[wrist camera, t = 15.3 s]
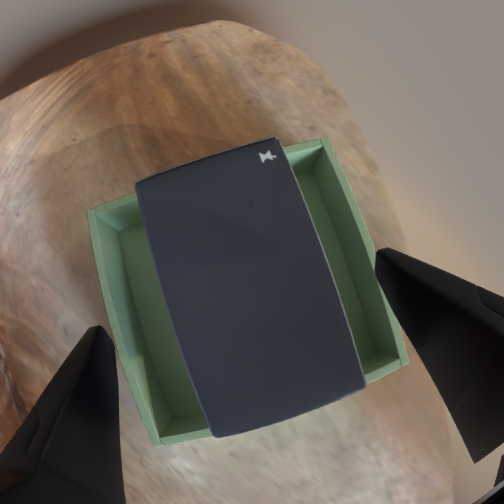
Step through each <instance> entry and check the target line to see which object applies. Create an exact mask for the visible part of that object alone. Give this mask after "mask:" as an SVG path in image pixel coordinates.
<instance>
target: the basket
mask: <svg viewBox="0 0 504 504" xmlns="http://www.w3.org/2000/svg"><path fill="white" fill-rule="evenodd" d="M283 149H284V151H285V153H286V156H287V158H288V160H289V163H290V165H291V167H292V170H293V172H294V174H295V177H296V179H297V182H298V184H299V186H300V189H301V191H302V194H303V197H304V199H305V202H306V204H307V207H308V209H309V212H310V214H311V217H312V220H313V223H314V226H315V228H316V231H317V233H318V235H319V238H320V241H321V244H322V246H323V249H324V252H325V254H326V257H327V260H328V263H329V265H330V268H331V271H332V274H333V277H334V280H335V283H336V286H337V289H338V292H339V295H340V298H341V301H342V304H343V307H344V310H345V313H346V317H347V320H348V323H349V326H350V329H351V332H352V335H353V338H354V342H355V345H356V348H357V352H358V355H359V358H360V362H361V365H362V369H363V372H364V376H365V379H366V383H369V382H371V381H374V380H376V379H378V378H380V377H382V376H384V375H386V374H388V373H390V372H392V371H394V370H396V369H398V368H400V367H402V366H404V365H406V364H408V363H409V360H408V356H407V352H406V348H405V344H404V340H403V337H402V333H401V330H400V326H399V322H398V320H397V318H396V316H395V315H394V313H393V311H392V309H391V307H390V305H389V303H388V301H387V299H386V297H385V295H384V293H383V290H382V288H381V286H380V284H379V282H378V280H377V278H376V276H375V272H374V269H375V256H376V251H375V248H374V246H373V243H372V240H371V238H370V235H369V232H368V230H367V227H366V224H365V222H364V219H363V217H362V214H361V212H360V209H359V207H358V204H357V202H356V200H355V197H354V195H353V192H352V190H351V188H350V185H349V183H348V181H347V178H346V176H345V174H344V172H343V169H342V167H341V165H340V163H339V160H338V158H337V156H336V154H335V152H334V150H333V148H332V145H331V143H330V141H329V139H328V137H325V138H321V139H316V140H312V141H307V142H303V143H299V144H294V145H290V146H286V147H283ZM87 217H88V224H89V230H90V236H91V242H92V247H93V253H94V258H95V263H96V268H97V273H98V277H99V282H100V286H101V291H102V295H103V299H104V303H105V307H106V311H107V315H108V319H109V322H110V326H111V330H112V333H113V337H114V340H115V343H116V347H117V350H118V353H119V356H120V359H121V363H122V366H123V369H124V372H125V375H126V378H127V380H128V383H129V386H130V389H131V392H132V394H133V397H134V400H135V402H136V405H137V408H138V410H139V413H140V415H141V418H142V420H143V423H144V425H145V427H146V430H147V432H148V434H149V437H150V439H151V441H152V444H153V446H154V447H159V446H165V445H171V444H177V443H182V442H187V441H192V440H197V439H201V438H206V437H210V436H212V434H211V431H210V429H209V426H208V424H207V422H206V419H205V417H204V414H203V412H202V409H201V406H200V404H199V401H198V398H197V396H196V393H195V390H194V388H193V385H192V382H191V380H190V377H189V374H188V371H187V368H186V366H185V363H184V360H183V357H182V354H181V351H180V348H179V345H178V342H177V339H176V336H175V333H174V330H173V327H172V324H171V321H170V318H169V314H168V311H167V308H166V305H165V301H164V298H163V295H162V291H161V288H160V284H159V281H158V277H157V274H156V270H155V267H154V263H153V259H152V256H151V252H150V248H149V244H148V240H147V236H146V232H145V228H144V224H143V220H142V216H141V212H140V208H139V202H138V198H137V194H136V192H134V193H131V194H128V195H126V196H123V197H120V198H118V199H115V200H112V201H110V202H107V203H105V204H102V205H100V206H97V207H95V208H92V209H90V210H87Z"/></svg>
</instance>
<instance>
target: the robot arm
mask: <svg viewBox="0 0 504 504" xmlns="http://www.w3.org/2000/svg"><path fill="white" fill-rule="evenodd" d="M374 272H375V276H376V278H377V280H378V282H379V284H380V286H381V288H382V290H383V293H384V295H385V297H386V299H387V301H388V303H389V305H390V307H391V309H392V311H393V313H394V315H395V316H396V318H397V320H398V321H399V323H400V325H401V326H402V328H403V330H404V331H405V333H406V335H407V336H408V338H409V340H410V341H411V343H412V345H413V346H414V348H415V350H416V352H417V353H418V355H419V357H420V358H421V360H422V362H423V364H424V365H425V367H426V369H427V371H428V373H429V374H430V376H431V378H432V380H433V382H434V384H435V385H436V387H437V389H438V391H439V393H440V395H441V397H442V398H443V400H444V402H445V404H446V406H447V408H448V410H449V412H450V413H451V416H452V418H453V420H454V422H455V424H456V426H457V428H458V430H459V432H460V435H461V437H462V438H463V441H464V443H465V445H466V447H467V449H468V451H469V454H470V456H471V458H472V460H473V462H474V463H476V462H478V461H480V460H481V459H482V458H484V457H485V456H487V455H488V454H489V453H491V452H492V451H493V450H495V449H496V448H497V447H499V446H500V445H501V444H502V443H504V297H502V296H500V295H497V294H495V293H493V292H491V291H488V290H486V289H484V288H482V287H479V286H476V285H475V284H473V283H471V282H468V281H466V280H464V279H461V278H460V277H457V276H455V275H453V274H451V273H448V272H446V271H444V270H441V269H439V268H437V267H434V266H432V265H429V264H427V263H425V262H423V261H420V260H418V259H416V258H413V257H411V256H408V255H406V254H403V253H401V252H399V251H396V250H394V249H391V248H388V247H387V248H383V249H380V250H378V251H377V252H376V256H375V269H374ZM125 503H126V499H125V491H124V482H123V472H122V461H121V447H120V428H119V389H118V378H117V367H116V356H115V346H114V343H113V341H112V339H111V338H110V337H109V335H108V334H107V332H106V331H105V329H104V328H103V327H102V326H100V325H97V326H93V327H90V328H89V329H88V330H87V331H86V333H85V334H84V335H83V337H82V338H81V339H80V341H79V342H78V343H77V345H76V346H75V347H74V349H73V350H72V351H71V353H70V354H69V356H68V357H67V358H66V360H65V361H64V363H63V364H62V365H61V367H60V368H59V370H58V371H57V373H56V374H55V375H54V377H53V378H52V380H51V381H50V383H49V384H48V386H47V387H46V389H45V390H44V392H43V393H42V395H41V396H40V398H39V399H38V401H37V402H36V404H35V406H34V407H33V408H32V410H31V411H30V413H29V414H28V416H27V417H26V419H25V420H24V422H23V424H22V425H21V426H20V428H19V429H18V431H17V432H16V433H15V435H14V436H13V438H12V439H11V440H10V442H9V443H8V445H7V446H6V447H5V449H4V450H3V452H2V453H1V454H0V504H125ZM473 504H504V454H503V455H502V457H501V461H500V465H499V469H498V473H497V477H496V480H495V484H494V488H493V489H492V490H491V491H489V492H488V493H487V494H485V495H484V496H482V497H481V498H480V499H478V500H477V501H476V502H474V503H473Z"/></svg>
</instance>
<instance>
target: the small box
mask: <svg viewBox="0 0 504 504" xmlns="http://www.w3.org/2000/svg"><path fill="white" fill-rule="evenodd" d="M135 190H136V194H137V198H138V202H139V208H140V212H141V216H142V220H143V224H144V228H145V232H146V236H147V240H148V244H149V248H150V252H151V256H152V259H153V263H154V267H155V270H156V274H157V277H158V281H159V284H160V288H161V291H162V295H163V298H164V301H165V305H166V308H167V311H168V314H169V318H170V321H171V324H172V327H173V330H174V333H175V336H176V339H177V342H178V345H179V348H180V351H181V354H182V357H183V360H184V363H185V366H186V368H187V371H188V374H189V377H190V380H191V382H192V385H193V388H194V390H195V393H196V396H197V398H198V401H199V404H200V406H201V409H202V412H203V414H204V417H205V419H206V422H207V424H208V426H209V429H210V431H211V434H212V436H213V437H214V438H222V437H227V436H232V435H237V434H241V433H245V432H248V431H252V430H255V429H258V428H261V427H265V426H268V425H271V424H275V423H278V422H281V421H285V420H287V419H290V418H293V417H296V416H298V415H301V414H304V413H307V412H309V411H312V410H315V409H318V408H320V407H323V406H325V405H328V404H330V403H333V402H335V401H338V400H340V399H342V398H344V397H347V396H349V395H352V394H354V393H356V392H358V391H360V390H362V389H364V388H366V386H367V383H366V379H365V376H364V372H363V369H362V365H361V362H360V358H359V355H358V352H357V348H356V345H355V342H354V338H353V335H352V332H351V329H350V326H349V323H348V320H347V317H346V313H345V310H344V307H343V304H342V301H341V298H340V295H339V292H338V289H337V286H336V283H335V280H334V277H333V274H332V271H331V268H330V265H329V263H328V260H327V257H326V254H325V252H324V249H323V246H322V244H321V241H320V238H319V235H318V233H317V231H316V228H315V226H314V223H313V220H312V217H311V214H310V212H309V209H308V207H307V204H306V202H305V199H304V197H303V194H302V191H301V189H300V186H299V184H298V182H297V179H296V177H295V174H294V172H293V170H292V167H291V165H290V163H289V160H288V158H287V156H286V153H285V151H284V149H283V146H282V144H281V141H280V140H279V138H277V137H275V136H272V137H268V138H264V139H261V140H258V141H254V142H252V143H248V144H244V145H240V146H237V147H234V148H230V149H226V150H223V151H220V152H217V153H214V154H211V155H208V156H205V157H201V158H198V159H195V160H192V161H189V162H186V163H184V164H180V165H177V166H175V167H172V168H169V169H166V170H163V171H160V172H158V173H155V174H153V175H150V176H147V177H145V178H142V179H139V180H137V181H136V182H135Z"/></svg>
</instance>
